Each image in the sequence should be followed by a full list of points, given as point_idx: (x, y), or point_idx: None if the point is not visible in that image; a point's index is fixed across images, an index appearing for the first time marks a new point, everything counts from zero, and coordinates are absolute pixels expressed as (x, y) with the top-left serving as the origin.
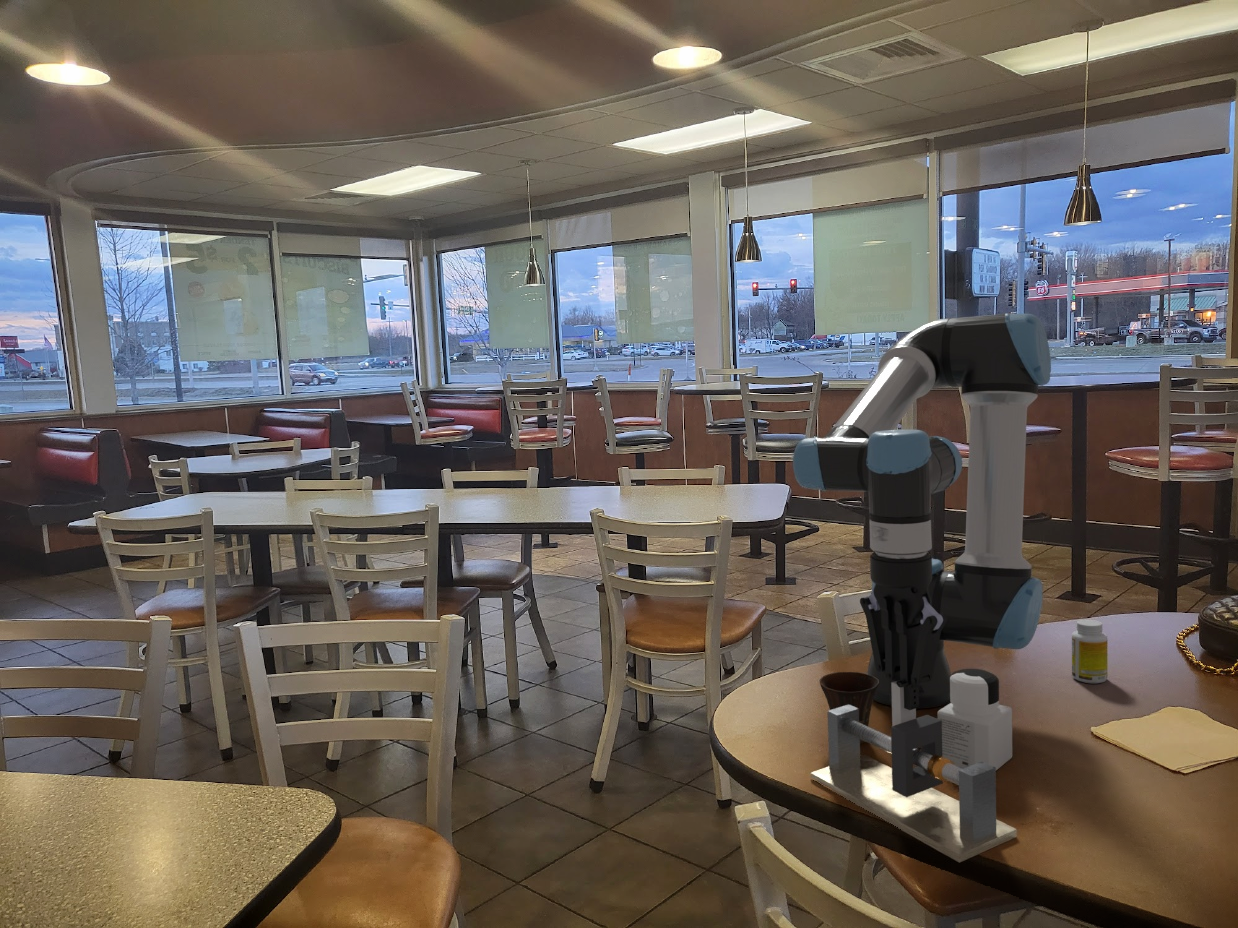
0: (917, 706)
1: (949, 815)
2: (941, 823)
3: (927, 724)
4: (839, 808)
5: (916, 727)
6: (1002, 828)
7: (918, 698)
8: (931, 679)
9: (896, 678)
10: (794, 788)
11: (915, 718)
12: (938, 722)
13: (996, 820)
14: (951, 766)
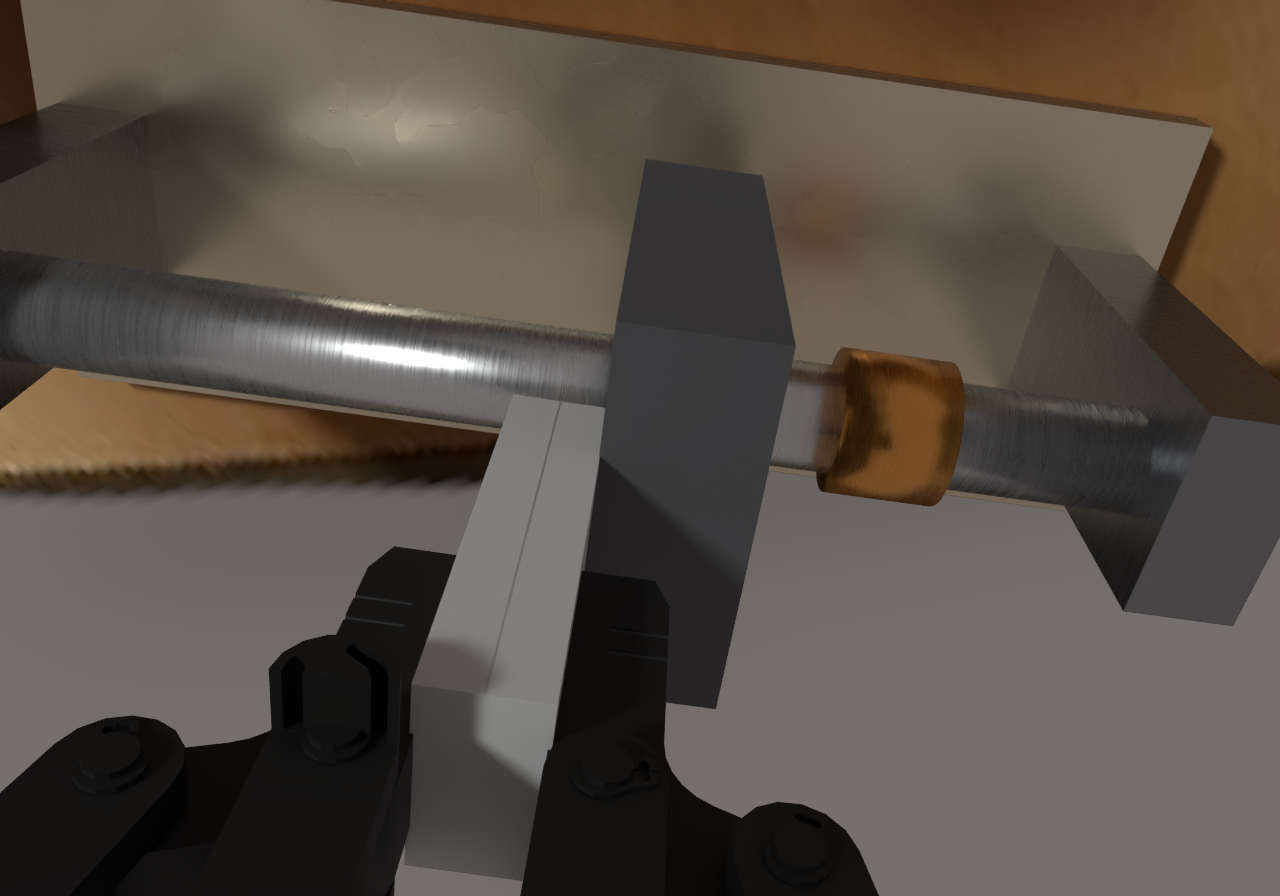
0: (659, 600)
1: (863, 255)
2: (873, 350)
3: (751, 496)
4: (411, 478)
5: (719, 592)
6: (1144, 174)
7: (667, 653)
8: (853, 844)
9: (402, 837)
10: (140, 476)
11: (597, 458)
12: (787, 384)
13: (1086, 120)
14: (991, 476)
